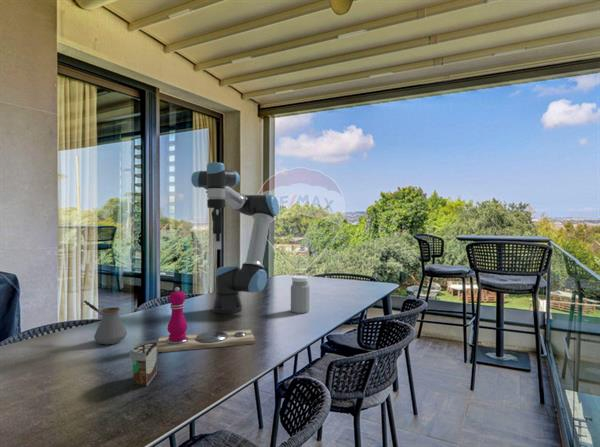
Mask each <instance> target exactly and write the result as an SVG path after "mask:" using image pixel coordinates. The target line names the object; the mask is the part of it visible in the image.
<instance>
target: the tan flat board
mask: <svg viewBox="0 0 600 447" xmlns="http://www.w3.org/2000/svg"><path fill="white" fill-rule="evenodd" d="M221 332H224V333H226V334H227V335H228V337H227V339H225V340H223V341H220V342H215V343H202V342H198V341H197V340H196V337H197V336H198V335H199V334H202V332H201V333H199V332H198V333H189V334H186V337H188V341H187V342H185V343H182V344H167V343H166V340H167V339H168V338H169V335H166V336H163V335H162V336H158V337H159V338H158V340H157V342H158V346H157V354H159V352H162V353H171V351H172V352H180V351H191V350H200V349H202V350H203V349H210V348H211V349H212V348H222V347H232V346H233V347H235V346H243V345H244V346H245V345H255V344H256V339H255V338H256V337H255V336H254V334H253V332H252V329H251V328H248V329H237V330H235V329H234V330H225V331H221ZM237 332H245V333H246V336H244V337H235V333H237Z"/></svg>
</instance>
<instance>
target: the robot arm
mask: <svg viewBox="0 0 600 447" xmlns="http://www.w3.org/2000/svg"><path fill="white" fill-rule="evenodd" d="M240 181H241V176H240V174H239V173H238V172H237V171H236V170H233V169H226V167H225V164H224V163H223V162H209V163H207V164H206V170H199V171H194V172H193V173H192V175H191V181H190V182H191V184H192V186H193V187H195V188H199V189H200V188H203V189H204V190H206V191H205V193H206V194H207V195H206V196H207V201H206V202H207V204H206V205H207V208H208V209H212V212H211V221H212V236H213V237H212V244H213V245H212V247H214V250H222V224H221V223H222V212H221V209H222V208H223V209H224V208H225V207H226V203H227V204H228V205H229V206H230V207H231V209H233V210H235V211H236V212H238V213H240V214H242V215H245V216H249V217H252V219H253V224H252V229H251V235H250V240H249V244H248V245H249V246H248V249H247V253H246V254H247V255H246V259H245V262H243V263H242V265H241V267H239V265H237V264H235V265H234V264H233V265H227V266H221V267H218V268H216V270H215V298H214V302H213V305H212V312H213V313H215V314H223V315H225V314H228V315H229V314H234V313H235V314H236V313H239V312H241V311H243V304H242V301H241V299H240V293H239V292H242V293H251V294H252V293H260V292H262V291H263V290H264V289H265V287H266V284H267V280H268V273H267V270H265V266H264V265H263V264H264V263H263V261H264V257H265V251H266V245H267V240H268V233H269V229H270V224H271V222H273V221H274V218H275V217H276V216H278V215H279V212H280V205H279V200H278V198H277V196H275V194H274V195H273V194H243V193H241V192H237V191H236V190H234V189H233V188H234V187H237V186H238V185H239V184H240ZM220 208H221V209H220Z"/></svg>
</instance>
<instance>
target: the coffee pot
mask: <svg viewBox="0 0 600 447" xmlns="http://www.w3.org/2000/svg"><path fill="white" fill-rule="evenodd" d="M83 303H85V304H83ZM81 304H83V306H85V305H86V306H89V308H90V309H92V310H94V311H95V312H97V313H98V314H100V315H101V316H102V318H101V320H100V322H99V325H98V326H97V329H96V332H95V333H94V335H93V338H94V340H95V341H96V342H97V343H99V344H100V343H101V344H112V345H116V344H115V343H117V344H118V342H119V343H121V342H122V341H123V340H124V339H125V338H126V336H127V334H128V332H127V330H126V327H125V325H124V323H123V322H122V320H121V318H120V315H119V310H121V309H120V307H118V306H117V307H115V306H114V307H106V308H103V309H101V310H100V309H98V308H97V307H96V306H95V305H94V304H92V303H90V301H87V300H84V301H82V302H81ZM121 340H122V341H121ZM120 341H121V342H120ZM101 344H100V345H101Z"/></svg>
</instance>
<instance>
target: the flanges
mask: <svg viewBox="0 0 600 447" xmlns="http://www.w3.org/2000/svg"><path fill="white" fill-rule="evenodd" d="M201 333H202V332H201ZM198 334H199V333H198ZM244 336H246V333H245V332H237V333H235V337H244ZM227 337H228V335H227V334H226V333H224V332H222V331H207V332H206V331H205V332H203V333H202V334H199V335H198V336H197V337H196V340H197V341H198V342H202V343H215V342H220V341H223V340H225V339H227Z"/></svg>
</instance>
